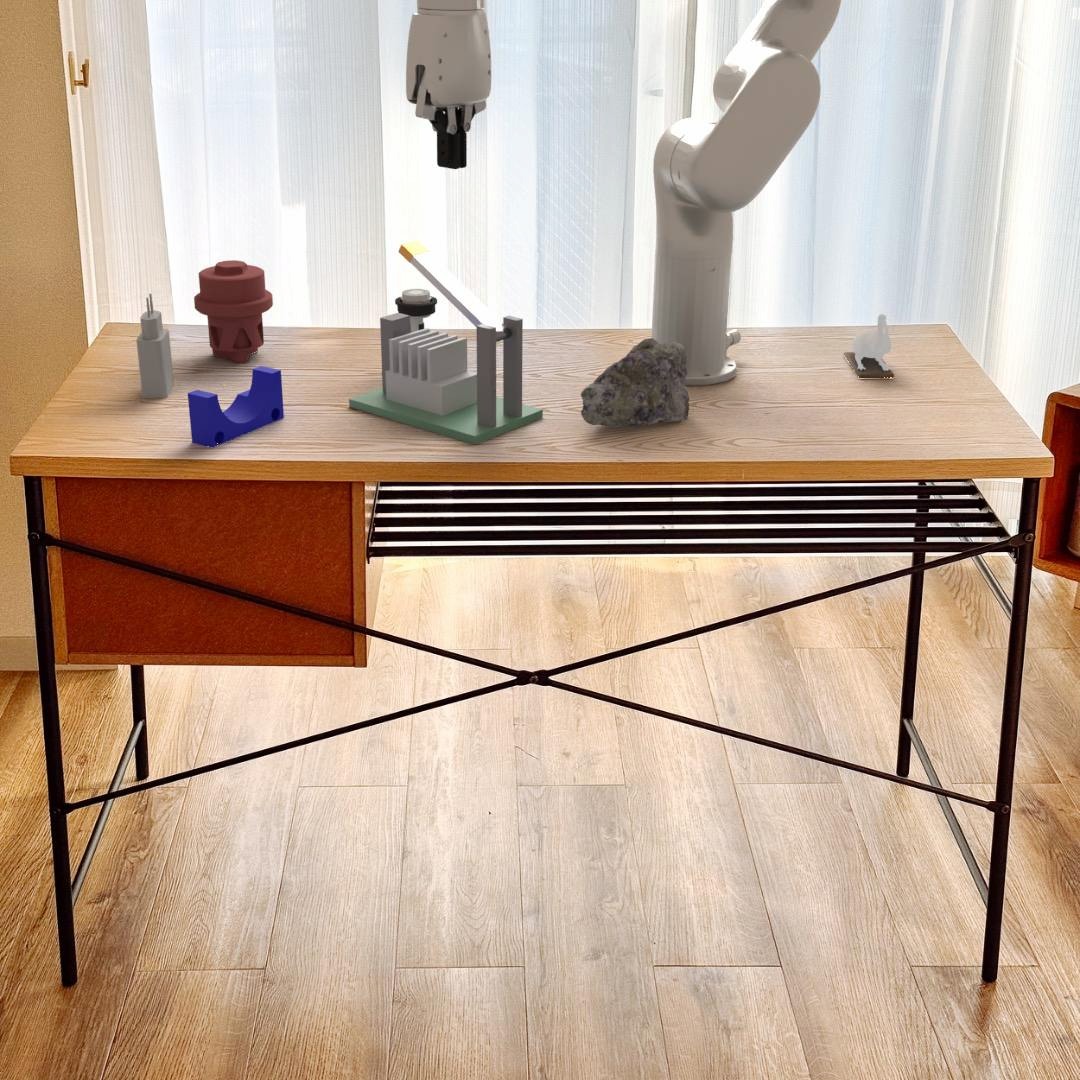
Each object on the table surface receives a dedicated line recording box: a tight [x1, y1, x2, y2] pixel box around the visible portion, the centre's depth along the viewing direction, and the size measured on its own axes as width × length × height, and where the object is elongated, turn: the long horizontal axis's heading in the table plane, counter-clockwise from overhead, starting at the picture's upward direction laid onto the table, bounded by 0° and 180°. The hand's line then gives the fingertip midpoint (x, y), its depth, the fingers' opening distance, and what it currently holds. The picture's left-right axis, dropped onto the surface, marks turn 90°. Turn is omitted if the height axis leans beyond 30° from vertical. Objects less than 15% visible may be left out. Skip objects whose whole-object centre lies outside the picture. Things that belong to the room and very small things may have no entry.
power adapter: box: [135, 292, 175, 399], centre depth 177 cm, size 3×5×12 cm, turn 3°
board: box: [348, 312, 544, 445], centre depth 171 cm, size 12×20×12 cm, turn 51°
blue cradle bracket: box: [187, 365, 285, 448], centre depth 166 cm, size 12×4×6 cm, turn 148°
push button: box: [394, 288, 438, 333], centre depth 186 cm, size 7×5×10 cm
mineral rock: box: [580, 337, 690, 429], centre depth 169 cm, size 13×11×10 cm
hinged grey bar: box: [397, 240, 512, 343], centre depth 166 cm, size 3×17×1 cm
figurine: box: [843, 313, 895, 379], centre depth 188 cm, size 14×4×9 cm, turn 1°
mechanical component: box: [193, 259, 274, 364], centre depth 191 cm, size 12×10×10 cm
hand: (451, 166), depth 170 cm, fingers closed
